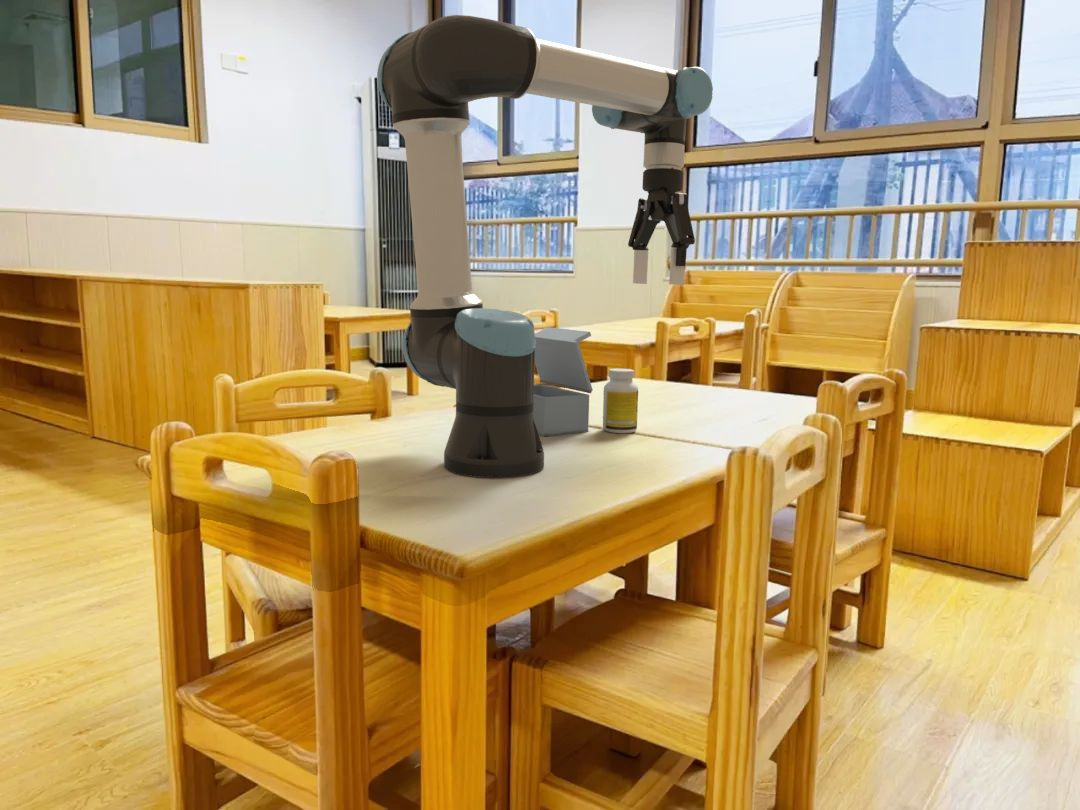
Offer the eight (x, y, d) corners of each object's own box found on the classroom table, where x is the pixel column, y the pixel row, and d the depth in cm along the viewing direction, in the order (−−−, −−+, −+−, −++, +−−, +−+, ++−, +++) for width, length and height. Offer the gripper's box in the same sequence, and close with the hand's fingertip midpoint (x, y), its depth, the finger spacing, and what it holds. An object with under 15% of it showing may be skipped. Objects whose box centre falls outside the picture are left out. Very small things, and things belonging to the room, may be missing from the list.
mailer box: (543, 436, 146) (544, 398, 145) (498, 422, 159) (499, 387, 158) (588, 431, 152) (589, 394, 151) (540, 418, 165) (541, 384, 164)
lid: (574, 343, 147) (594, 332, 149) (524, 336, 160) (544, 326, 162) (589, 393, 150) (609, 382, 152) (540, 383, 164) (558, 372, 166)
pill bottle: (638, 434, 150) (640, 372, 148) (603, 433, 150) (605, 371, 148) (635, 428, 156) (637, 368, 155) (601, 427, 157) (603, 367, 155)
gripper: (719, 163, 142) (711, 285, 145) (647, 178, 164) (642, 283, 168) (682, 159, 139) (675, 284, 142) (614, 175, 162) (609, 282, 165)
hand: (657, 284), depth 155 cm, fingers open, 13 cm apart
